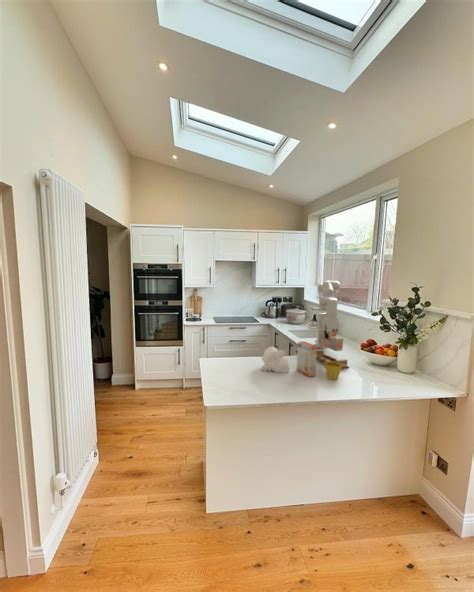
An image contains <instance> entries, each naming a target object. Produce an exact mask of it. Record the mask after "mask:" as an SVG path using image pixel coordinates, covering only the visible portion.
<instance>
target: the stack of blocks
mask: <svg viewBox="0 0 474 592" xmlns="http://www.w3.org/2000/svg"><path fill="white" fill-rule="evenodd" d="M319 345H322V346H324V347H327V348H326V349H329V350H332V351H335V352H339V351H340V352H341V351H343V346H344V338H343V337H340V336H337V335H336V336H335V332H334V331H332V330H329V331H328V339H326V338H325V333H324V331H323V330H322V329H319Z"/></svg>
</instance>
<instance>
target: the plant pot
mask: <svg viewBox="0 0 474 592" xmlns="http://www.w3.org/2000/svg"><path fill="white" fill-rule="evenodd" d="M341 367H342V365H341V364H340V363H337V362H326V363H325V365H324V369H325V373H326V377H327V379H328V380H330V381H337V380H338V378H339V375H340V372H341V371H342V369H341Z"/></svg>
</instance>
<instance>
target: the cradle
mask: <svg viewBox="0 0 474 592" xmlns="http://www.w3.org/2000/svg"><path fill="white" fill-rule="evenodd" d="M316 362H318V363H320V364H323V365H324V366H325V363H326V362H337V363H340V364H341V365H342V367H341V370H345V369H346V370H347V369H350V366H349V365H348V359H346V358H341V359H338V358H335V357H332V356H330V355H328V354H326V353H324V349H317V354H316Z"/></svg>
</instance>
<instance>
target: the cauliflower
mask: <svg viewBox="0 0 474 592" xmlns="http://www.w3.org/2000/svg"><path fill="white" fill-rule="evenodd" d="M285 355H286V352H285V351H284V350H282V349H280V350H279V349H277V348H276V347H275V346H269V347H267V348H265V351H264V352H263V356H261V359H262V361H263V362H264V365H263V366H262V367H261V369H260V371H261V370H264V371H263V372H267V371H268V372H269V371H270V372H272V371H273V372H274V371H275V372H274V373H277V372H279V373H281V372H282V374H287V373H289V371H290V366H289V365H290V363H289V360H288V359H286V358H285V357H284V356H285ZM266 370H267V371H266ZM271 370H272V371H271Z"/></svg>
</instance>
